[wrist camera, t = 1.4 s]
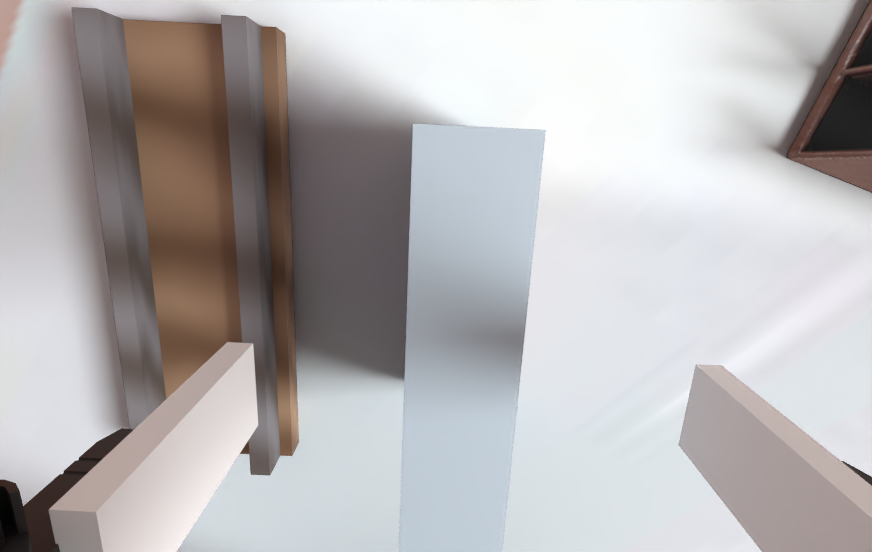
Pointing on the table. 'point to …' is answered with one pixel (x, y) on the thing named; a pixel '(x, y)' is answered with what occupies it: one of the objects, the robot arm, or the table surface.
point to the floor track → (195, 206)
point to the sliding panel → (465, 330)
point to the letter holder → (843, 115)
